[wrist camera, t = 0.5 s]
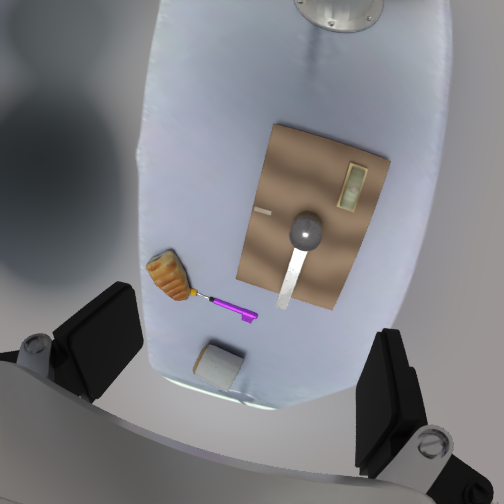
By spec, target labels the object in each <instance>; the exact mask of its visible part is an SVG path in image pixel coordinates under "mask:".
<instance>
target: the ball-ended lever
mask: <svg viewBox="0 0 504 504" xmlns="http://www.w3.org/2000/svg"><path fill="white" fill-rule="evenodd" d="M289 238H290V242H291V244H292V245H293V246H294V247H295V248H294V251H293V254H292V257H291V260H290V263H289V266H288V269H287V272H286V275H285V278H284V281H283V284H282V287H281V290H280V293H279V296H278V299H277V303H276V307H279V308H282V309H285V310H286V308H287V306H288V303H289V300H290V298H291V295H292V292H293V290H294V287H295V284H296V281H297V278H298V276H299V273H300V270H301V267H302V264H303V262H304V259H305V256H306V253H307V252H308V251H312V250H314V249H316V248H317V247H318V246H319V244H320V242H321V239H322V221H321V219H320V217H319V216H318V215H317V214H315V213H313V212H310V211H305V212H302V213H300V214H298V215H297V216H296V218H295V219H294V222H293V225H292V227H291V230H290V233H289Z"/></svg>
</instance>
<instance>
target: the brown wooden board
mask: <svg viewBox="0 0 504 504" xmlns="http://www.w3.org/2000/svg"><path fill="white" fill-rule="evenodd" d="M390 162H391V161H389V160H387V159H384V158H381V157H379V156H376V155H374V154H371V153H368V152H365V151H363V150H360V149H357V148H354V147H351V146H348V145H345V144H342V143H339V142H336V141H333V140H330V139H327V138H324V137H320V136H317V135H314V134H310V133H307V132H303V131H300V130H296V129H292V128H289V127H285V126H281V125H277V124H273V128H272V132H271V136H270V140H269V144H268V148H267V152H266V156H265V160H264V164H263V168H262V172H261V176H260V180H259V184H258V188H257V192H256V196H255V201H254V205H253V209H252V213H251V217H250V221H249V225H248V229H247V233H246V238H245V242H244V246H243V250H242V254H241V258H240V263H239V267H238V271H237V275H236V279H237V280H240V281H243V282H246V283H249V284H252V285H255V286H258V287H261V288H264V289H267V290H270V291H273V292H276V293H280V290H281V287H282V284H283V281H284V278H285V275H286V272H287V269H288V266H289V263H290V260H291V257H292V254H293V251H294V248H295V247H294V246H293V245H292V244H291V242H290V238H289V233H290V230H291V227H292V225H293V222H294V219H295V218H296V216H297V215H298V214H300V213H302V212H305V211H310V212H313V213H315V214H317V215H318V216H319V217H320V219H321V221H322V239H321V242H320V244H319V246H318V247H317V248H316V249H314V250H312V251H308V252H307V253H306V256H305V259H304V262H303V264H302V267H301V270H300V273H299V276H298V278H297V281H296V284H295V287H294V290H293V292H292V295H291V298H294V299H298V300H301V301H304V302H307V303H310V304H313V305H316V306H320V307H323V308H326V309H329V310H333V308H334V306H335V304H336V301H337V299H338V297H339V295H340V293H341V290H342V288H343V286H344V284H345V281H346V279H347V277H348V275H349V272H350V270H351V268H352V265H353V263H354V261H355V258H356V256H357V253H358V251H359V248H360V246H361V243H362V241H363V238H364V236H365V233H366V231H367V228H368V225H369V223H370V220H371V217H372V215H373V212H374V209H375V207H376V204H377V201H378V198H379V195H380V192H381V190H382V187H383V184H384V181H385V178H386V175H387V171H388V168H389V165H390Z"/></svg>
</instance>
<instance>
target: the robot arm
mask: <svg viewBox="0 0 504 504" xmlns="http://www.w3.org/2000/svg"><path fill="white" fill-rule="evenodd" d="M294 2H295V4H296V6H297V8H298V10H299V11H300V13H301V14H302V15H303V16H304V17H305V18H306V19H307V20H309V21H310V22H312V23H313V24H315V25H317V26H319V27H321V28H323V29H327V30H330V31H334V32H341V33H350V32H357V31H361V30H364V29H366V28H368V27H370V26H372V25H373V24H374V23H375V22H376V21H377V20H378V18H379V17H380V15H381V12H382V9H383V0H294ZM300 3H302V4H300ZM368 20H370V21H368ZM330 25H333V27H331V26H330ZM53 335H54V338H55V339H54V340H53V341H52V340H51V338H50V336H48V335H47V334H43V333H38V334H33V335H31V336H29V337H27V338H26V339H25V340H24V341H23V342H22V344H21V347H20V350H18V351H11V352H4V353H0V504H494V503H493V502H492V500H493V494H494V491H493V486H492V484H491V483H490V481H489V480H488V479H487V478H485V477H484V476H482V475H481V474H480V473H478V472H477V471H475V470H474V469H472V468H471V467H470V466H468V465H467V464H465V463H464V462H462V461H461V460H460V459H458V458H457V457H456V456H454V455H453V454H452V452H453V448H454V447H453V446H454V443H453V439H452V437H451V435H450V434H449V432H447V431H446V430H445V429H444V428H442V427H439V426H436V425H428V422H427V417H426V413H425V408H424V403H423V399H422V394H421V391H420V387H419V382H418V378H417V374H416V371H415V369H414V368H413V367H409V363H408V360H407V356H406V352H405V348H404V345H403V341H402V338H401V335H400V331H399V330H397V329H388V328H384V329H383V330H382V332H377V333H376V336H375V339H374V342H373V345H372V347H371V350H370V353H369V355H368V358H367V361H366V363H365V366H364V368H363V371H362V373H361V376H360V378H359V381H358V383H357V387H356V455H355V466H356V467H359V468H360V474H359V475H366V476H367V475H368V478H363V477H351V476H342V475H331V474H321V473H311V472H305V471H298V470H291V469H285V468H279V467H273V466H268V465H263V464H257V463H253V462H248V461H244V460H240V459H235V458H231V457H227V456H224V455H220V454H216V453H213V452H209V451H206V450H203V449H199V448H196V447H193V446H190V445H187V444H184V443H181V442H178V441H175V440H172V439H170V438H167V437H164V436H161V435H159V434H156V433H154V432H151V431H149V430H146V429H144V428H142V427H139V426H137V425H135V424H132V423H130V422H127V421H126V420H123V419H121V418H119V417H117V416H115V415H113V414H110V413H109V412H107V411H104V410H102V409H100V408H99V407H97V406H95V405H93V404H92V403H93V402H94V400H95V399H99V398H100V397H101V396H102V394H103V393H104V392H105V391H106V390H107V388H108V387H109V386H110V385H111V384H112V382H113V381H114V380H115V379H116V378H117V376H118V375H119V374H120V373H121V372H122V370H123V369H124V368H125V367H126V366H127V365H128V363H129V362H130V361H131V360H132V359H133V357H134V356H135V355H136V354H137V353H138V351H139V350H140V349H141V348H142V346H143V341H144V340H143V335H142V330H141V325H140V319H139V314H138V308H137V302H136V296H135V291H134V289H133V288H132V286H131V285H130V284H128V283H123V282H119V281H117V282H115V283H114V284H113V285H111V286H110V287H109V288H107V289H106V290H105V291H103V292H102V293H101V294H100V295H98V296H97V297H96V298H94V299H93V300H92V301H91V302H89V303H88V304H87V305H85V306H84V307H83V308H82V309H80V310H79V311H78V312H77V313H76V314H74V315H73V316H72V317H71V318H69V319H68V320H67V321H65V322H64V323H63V324H62V325H61V326H59V327H58V328H57V329H56V330H55V331H53ZM79 396H80V397H81V398H80V397H79ZM495 504H498V502H497V503H495Z"/></svg>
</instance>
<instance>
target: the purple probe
mask: <svg viewBox="0 0 504 504" xmlns="http://www.w3.org/2000/svg"><path fill="white" fill-rule="evenodd" d="M197 291H198V290H195V289H193V288H190V294H191V295H194V296H197V295H196V294H198V295H201V294H199V293H196V292H197ZM201 296H203V297H205V298H208V299H209V301H211V302H213V303H215V304H217V305H220V306H222V307H225V308H227V309H230V310H232V311H235V312H237V313H240V314H242V320H243V321H246V322H248V323H251V322H252V321H253V319H257V317H258V315H257V314H256V313H254V312H252V311H249V310H246V309H243V308H240V307H237V306H235V305H232V304H230V303H227V302H224V301H222V300H219V299H217V298H213V297H210V298H209V297H206V296H204V295H201ZM244 319H245V320H244Z"/></svg>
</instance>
